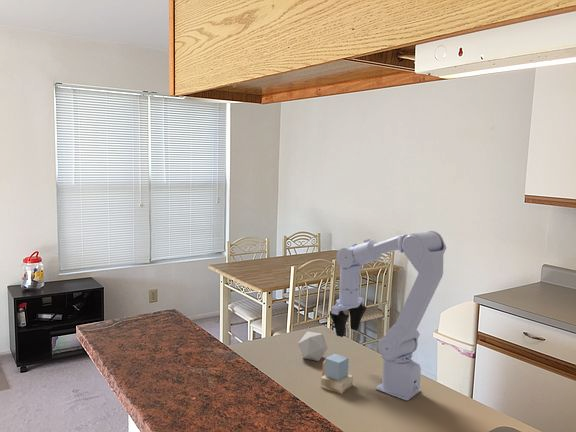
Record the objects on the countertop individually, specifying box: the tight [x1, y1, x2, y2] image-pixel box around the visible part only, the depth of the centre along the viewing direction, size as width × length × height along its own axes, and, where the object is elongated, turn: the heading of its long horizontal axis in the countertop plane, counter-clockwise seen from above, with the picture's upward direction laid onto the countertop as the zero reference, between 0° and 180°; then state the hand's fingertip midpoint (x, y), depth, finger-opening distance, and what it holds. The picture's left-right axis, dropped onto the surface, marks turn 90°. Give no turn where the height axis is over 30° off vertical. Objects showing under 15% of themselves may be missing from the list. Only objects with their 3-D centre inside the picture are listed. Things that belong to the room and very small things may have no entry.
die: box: [297, 331, 329, 362], centre depth 149 cm, size 8×9×10 cm
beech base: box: [320, 373, 354, 395], centre depth 131 cm, size 6×6×3 cm
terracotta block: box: [321, 359, 325, 376], centre depth 138 cm, size 4×4×4 cm
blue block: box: [324, 353, 349, 381], centre depth 131 cm, size 4×4×5 cm
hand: (347, 332), depth 143 cm, fingers open, 7 cm apart
